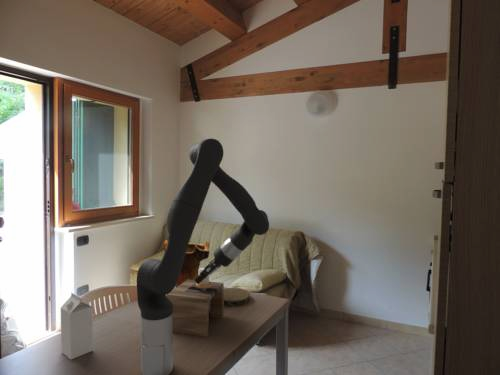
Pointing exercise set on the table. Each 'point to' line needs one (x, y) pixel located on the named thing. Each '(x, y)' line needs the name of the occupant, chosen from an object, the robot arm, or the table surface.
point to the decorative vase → (192, 260)
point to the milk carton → (76, 327)
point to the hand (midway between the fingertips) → (199, 280)
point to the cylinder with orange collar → (204, 283)
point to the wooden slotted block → (196, 307)
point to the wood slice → (236, 297)
